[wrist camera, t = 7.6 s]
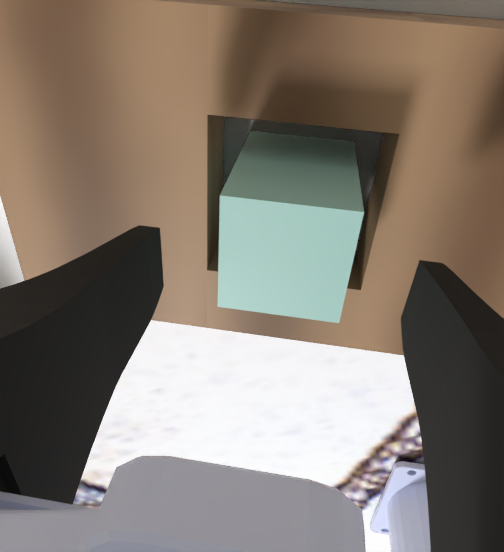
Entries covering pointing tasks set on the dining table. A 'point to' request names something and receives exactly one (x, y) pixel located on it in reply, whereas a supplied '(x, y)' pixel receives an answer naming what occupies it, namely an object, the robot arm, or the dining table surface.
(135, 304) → the robot arm
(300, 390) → the dining table surface
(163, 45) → the well board
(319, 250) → the teal block
